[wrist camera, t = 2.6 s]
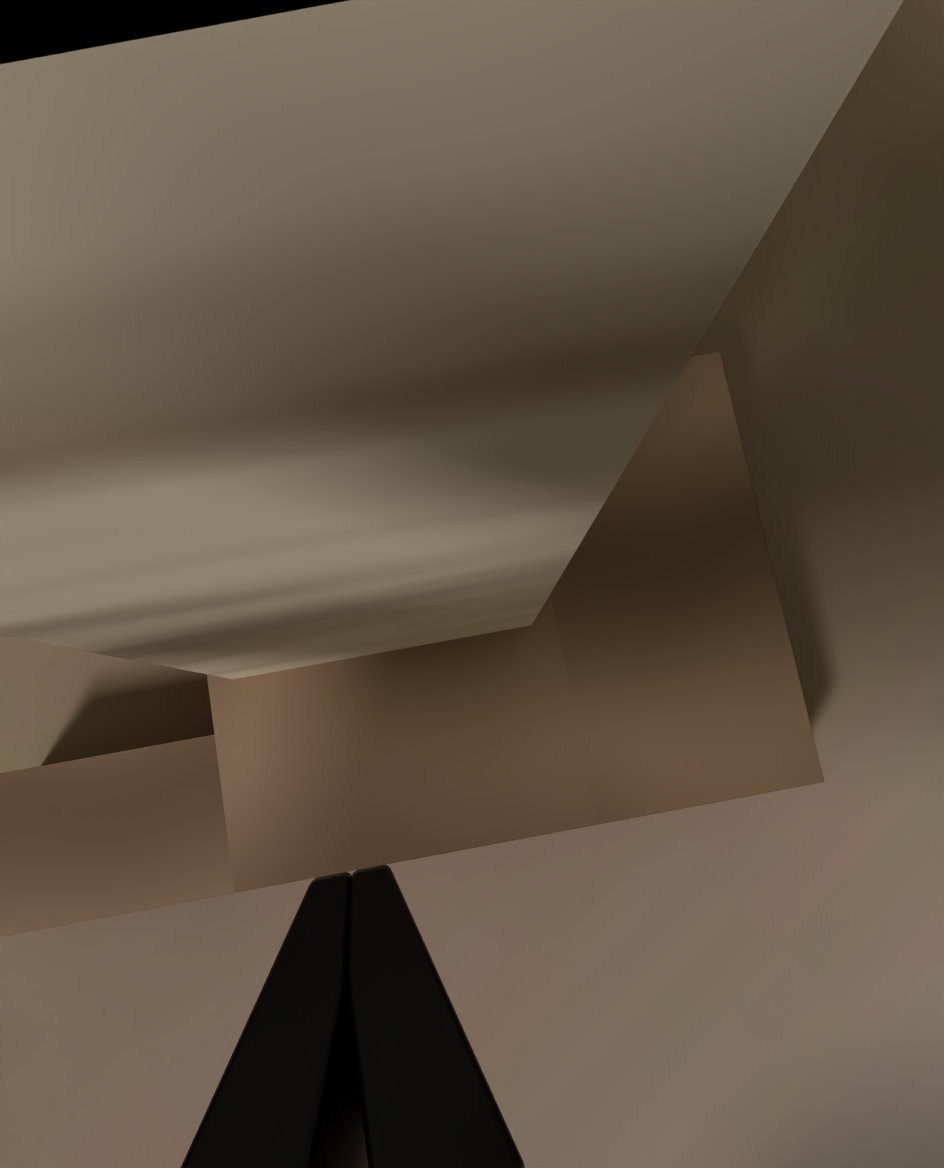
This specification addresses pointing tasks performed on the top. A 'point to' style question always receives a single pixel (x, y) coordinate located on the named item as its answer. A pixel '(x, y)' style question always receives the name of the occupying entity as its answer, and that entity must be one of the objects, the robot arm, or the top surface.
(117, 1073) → the top surface
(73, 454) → the beech block
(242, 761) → the trap runway
